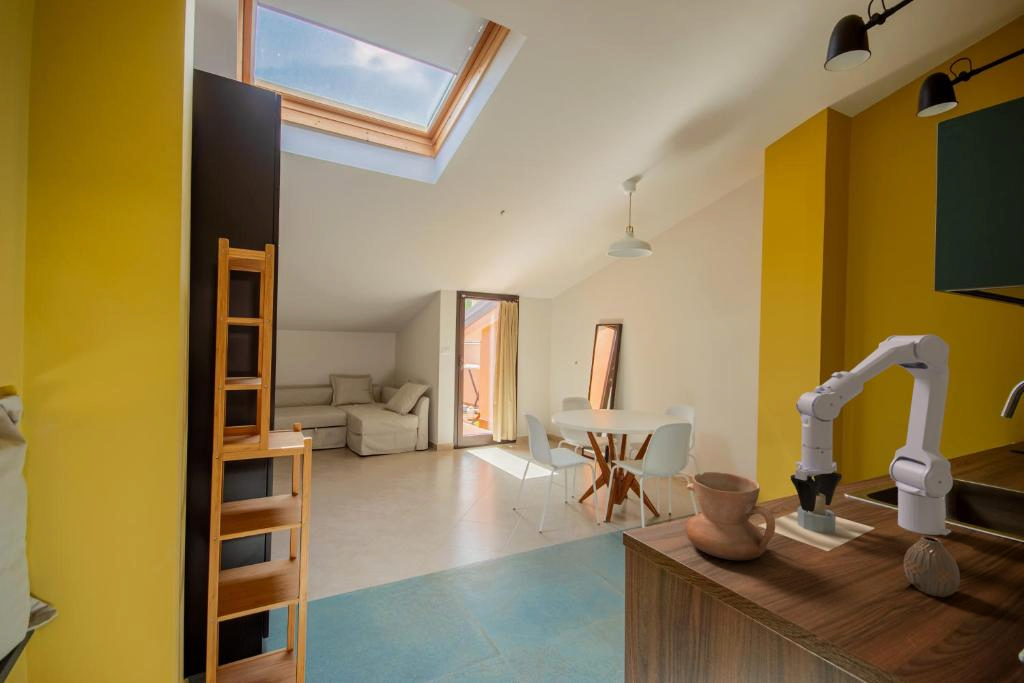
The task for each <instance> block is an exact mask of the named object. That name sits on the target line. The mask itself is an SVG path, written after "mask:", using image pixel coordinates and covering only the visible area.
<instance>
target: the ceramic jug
mask: <svg viewBox="0 0 1024 683" xmlns="http://www.w3.org/2000/svg"><path fill="white" fill-rule="evenodd" d="M686 489H687V490H689V491H692V492H694V494H695V496H696V498H697V502H698V505H699V507H700V509H701V512H700V513H698V514H696V515H694V516H693V515H692V517H689V518H688V520H687V522H686V523H685V534H686V537H687V538H688V541H690V543H691V544H692V545H693V546H694V547H695V548H697V549H699V551H700V552H701V551H702V552H703V553H705V554H707V555H710V556H712V557H715V558H720V559H721V560H728V561H748V560H754V559H757V558H759V557H760V556H762V555H763V554H764V553H765V551H766V549H767V545H768V544H769V542H771V540H772V539H773V537H774V534H775V520H774V519H775V516H774V515H773V513H772V512H771V511H770V510H769V509H767V508H765V507H764V506H761V505H760V506H759V505H757V502H758V501H759V500H758V499H759V496H760V490H761V486H760V484H759V483H758V482H757V481H755V480H753V478H750V477H746V476H743V475H740V474H735V473H730V472H729V473H728V472H723V471H722V472H720V471H719V472H718V471H702V472H701V473H699V472H697V473H695V474H693V476H692V483H688V484H687V486H686ZM756 514H759V515H761V516H763V517H764V519H765V523H766V529H765V532H764V534H763V533H762V531H761V530H760V529H759V528H758V526H755V525H754V524H753V523H752V522H751V521H750V520H749V519H750V517H752V516H754V515H756Z"/></svg>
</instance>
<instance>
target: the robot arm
mask: <svg viewBox="0 0 1024 683" xmlns="http://www.w3.org/2000/svg"><path fill="white" fill-rule="evenodd" d="M949 353H950V346H949V344H947V342H945V341H944V340H943V339H942V338H941V337H940V336H938V335H936V334H932V333H931V334H923V335H921V334H920V335H919V334H918V335H913V334H912V335H901V334H899V335H898V334H894V335H891V336H889V337H887V338H886V339H885V340H883V341H882V342H880V343H878V348H876V349H875V350H874V351H873V352H872V353H871V354H869V355H868V356H867V357H865V359H863V360H862V361H861V362H859V363H858V364H857V365H856V366H854V368H853V369H851V370H850V371H846V370H845V371H842V370H841V371H839V372H838V371H837V372H833V373H832V374H831V375H830V376H831V377H830V378H829V379H828V380H826V381H825V382H824V383H822V384H821V385H817V386H815V388H814V390H813V391H807V392H805V393H803V394H802V395H801V396H799V398H798V401H797V402H795V408H796V411H797V412H798V413H799V416H800V421H801V461H796V462H795V465H796V466H797V467H798V468H796V469H794V474H792V475H790V481H791V483H792V484H793V486H794V488H795V490H796V492H797V496H798V499H799V502H800V503H799V504H800V506H801V507H802V509H803V510H806V511H810V512H813V511H814V508H815V503H816V496H817V493H818V491H819V493H820V494H823V495H825V496H826V499H825V506H831V504H832V501H833V497H834V494H835V491H836V489H837V486H838V484H839V483H840V481H841V480H842V478H843V475H842V474H841V473H837V470H838V468H837V467H838V466H837V465H838V464H837V463H838V462H835V461H833V440H834V439H833V433H834V432H833V431H834V430H833V429H834V427H833V425H834V423H833V422H834V419H836V418H838V416H839V414H840V412H841V409H842V407H844V405H845V404H847V403H848V402H850V400H852V399H853V398H855V397H857V396H858V395H859V394H860V393H862V392H863V390H864V383H866V382H868V381H870V380H871V379H872V378H874V377H876V376H877V375H879V374H880V373H882V372H884V371H885V370H887V369H888V368H889V367H892V366H893V365H897V366H899V367H901V368H903V369H904V370H906V371H907V372H908V373H909V374H911V376H913V377H914V384H913V391H912V399H911V405H910V406H911V407H910V412H909V419H908V426H907V427H908V429H907V434H906V442H905V445H904V446H902V447H900V448H899V449H897V450H896V451H895V454H894V458H893V459H892V462H891V463H890V465H889V467H888V468H889V470H888V472H889V476H890V478H891V479H892V480H893V481H894V482H895V487H897V491H898V492H897V503H898V504H897V525H898V526H899V527H901V528H903V529H905V530H907V531H910V532H915V533H917V534H923V535H927V536H928V535H931V536H934V535H935V536H939V535H943V536H947V535H949V534H950V533H952V530H951V529H950V528H949V529H948V528H946V501H945V499H944V498H946V495H947V494H948V493H950V491H951V490H952V488H953V484H954V479H953V476H952V474H951V473H952V471H951V467H952V466H951V465H952V464H951V462H950V461H949V460H948V459H947V458H946V457H945V456H944V455H943V454H942V453H941V452H940V446H941V441H942V440H941V438H942V433H943V432H942V431H943V426H944V425H943V424H944V418H945V417H944V416H945V409H946V402H947V401H946V400H947V395H948V387H949V378H950V369H949V368H950V367H949V366H948V364H949V363H948V361H949V355H950V354H949Z"/></svg>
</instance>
